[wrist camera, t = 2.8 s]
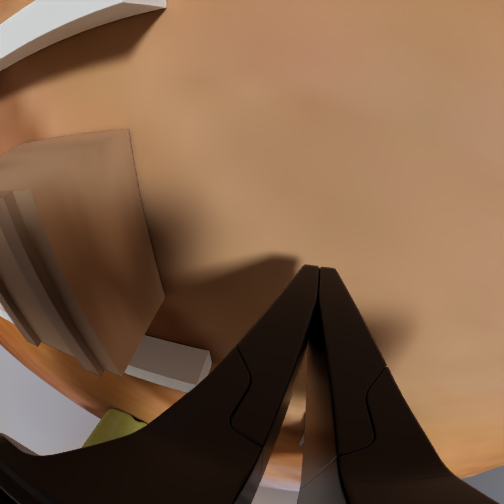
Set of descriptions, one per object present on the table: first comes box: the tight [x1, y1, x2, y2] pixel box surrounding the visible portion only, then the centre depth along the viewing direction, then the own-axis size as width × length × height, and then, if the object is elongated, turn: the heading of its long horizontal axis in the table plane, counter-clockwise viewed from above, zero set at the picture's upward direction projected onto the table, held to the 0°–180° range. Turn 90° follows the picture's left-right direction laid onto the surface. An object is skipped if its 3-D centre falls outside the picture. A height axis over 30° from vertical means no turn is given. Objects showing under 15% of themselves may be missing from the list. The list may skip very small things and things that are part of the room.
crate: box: [0, 129, 165, 376], centre depth 9 cm, size 7×6×4 cm
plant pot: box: [82, 409, 147, 448], centre depth 25 cm, size 9×9×9 cm
